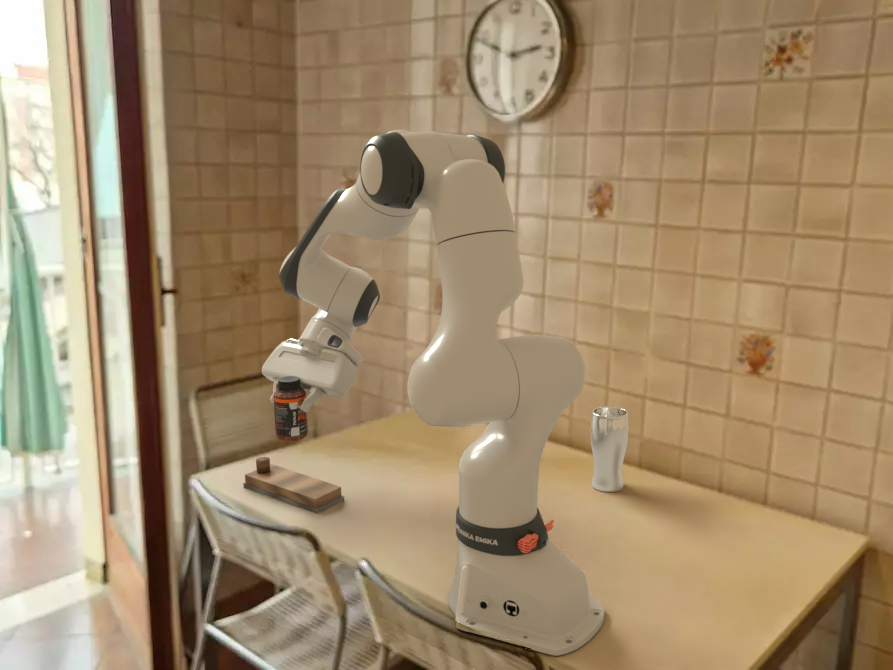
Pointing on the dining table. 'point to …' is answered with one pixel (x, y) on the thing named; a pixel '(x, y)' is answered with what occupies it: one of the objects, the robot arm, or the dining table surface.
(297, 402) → the supplement bottle
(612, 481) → the beer glass
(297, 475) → the body
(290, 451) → the dining table surface
